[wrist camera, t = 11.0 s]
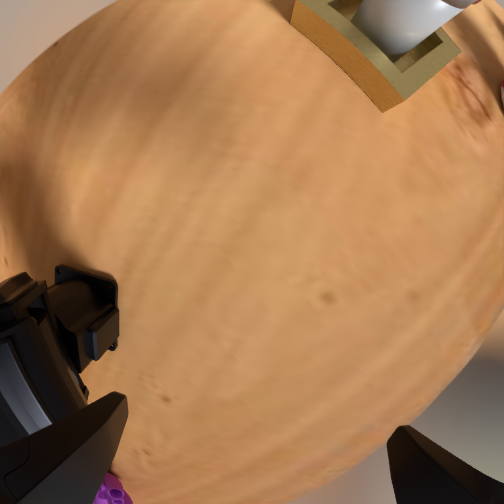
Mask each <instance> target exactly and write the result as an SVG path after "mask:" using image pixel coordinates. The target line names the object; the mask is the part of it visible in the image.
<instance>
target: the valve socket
mask: <svg viewBox="0 0 504 504" xmlns="http://www.w3.org/2000/svg"><path fill="white" fill-rule="evenodd" d="M480 1H481V0H477V1H475V2H474V3H472V4H477V3H478V2H480ZM362 2H363V0H296V1H295V5H294V9H293V13H292V18H291V22H290V24H291V25H292V26H293V27H295V28H296V29H297V30H299V31H300V32H301V33H302V34H304V35H305V36H306V37H307V38H308V39H310V40H311V41H312V42H313V43H314V44H316V45H317V46H318V47H319V48H320V49H321V50H322V51H324V52H325V53H326V54H327V55H328V56H329V57H330V58H331V59H332V60H333V61H334V62H336V63H337V64H338V65H339V66H340V67H341V68H342V69H343V70H344V71H345V72H346V73H347V74H348V75H349V76H350V77H351V78H352V79H353V80H354V81H355V82H356V83H357V85H358V86H359V87H360V88H361V89H362V90H363V91H364V92H365V93H366V94H367V95H368V97H369V98H370V99H371V100H372V101H373V102H374V103H375V105H376V106H377V107H378V108H379V109H380V110H381V112H382V113H384V112H385V111H387V110H389V109H391V108H393V107H394V106H396V105H398V104H400V103H402V102H404V101H405V100H406V99H408V98H409V97H410V96H411V95H412V94H413V93H414V92H416V91H417V90H418V89H419V88H420V87H421V86H422V85H424V84H425V83H426V82H427V81H428V80H429V79H431V78H432V77H433V76H434V75H435V74H436V73H437V72H439V71H440V70H441V69H442V68H443V67H444V66H446V65H447V64H448V63H449V62H450V61H451V60H453V59H454V58H455V57H456V56H457V55H458V54H460V53H461V52H462V51H461V50H460V49H459V47H458V46H457V45H456V44H455V43H454V41H453V40H452V39H451V38H450V37H449V35H448V34H447V33H446V32H445V31H444V30H443V29H442V27H439V28H438V29H437V30H436V31H434V32H433V33H432V34H430V35H429V36H428V37H426V38H425V39H424V40H423V41H421V42H420V43H419V44H418V45H416V46H415V47H414V48H413V49H411V50H410V51H409V52H408V53H406V54H405V55H404V56H403V57H401V58H400V59H397V60H389V59H388V57H387V56H386V55H385V54H384V53H383V52H382V51H381V50H380V49H379V48H378V47H377V46H376V45H375V44H374V43H373V42H372V41H371V40H370V39H368V38H367V37H366V36H365V35H364V34H363V33H362V32H361V31H360V30H359V29H358V28H356V27H355V26H354V25H353V24H352V23H351V20H352V18H353V16H354V15H355V13H356V11H357V10H358V8H359V7H360V5H361V3H362ZM455 17H456V16H454V17H453V18H455ZM453 18H451V19H453ZM451 19H450V20H451ZM450 20H449V21H450ZM447 22H448V21H447Z"/></svg>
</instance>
